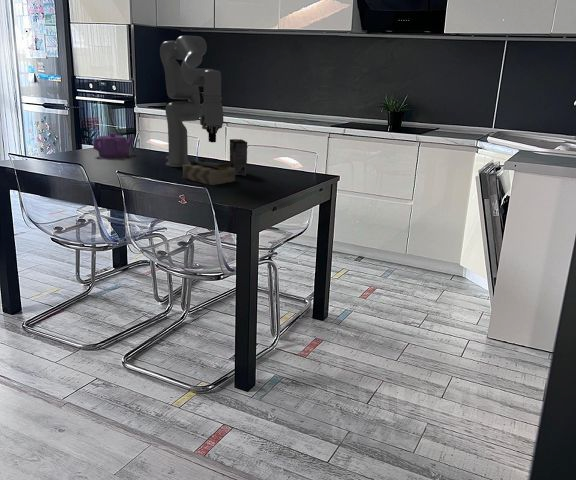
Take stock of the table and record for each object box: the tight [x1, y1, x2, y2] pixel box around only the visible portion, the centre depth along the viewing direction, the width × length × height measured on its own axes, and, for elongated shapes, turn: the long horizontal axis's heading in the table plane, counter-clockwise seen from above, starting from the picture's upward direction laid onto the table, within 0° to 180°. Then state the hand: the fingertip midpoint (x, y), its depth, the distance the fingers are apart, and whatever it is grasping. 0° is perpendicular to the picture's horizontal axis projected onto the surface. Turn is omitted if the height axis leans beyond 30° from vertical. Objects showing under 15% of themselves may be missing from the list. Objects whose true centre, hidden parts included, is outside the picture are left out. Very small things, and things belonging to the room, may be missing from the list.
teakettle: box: [93, 132, 134, 159], centre depth 304 cm, size 17×17×12 cm
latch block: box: [182, 159, 236, 186], centre depth 253 cm, size 20×14×8 cm
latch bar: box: [195, 161, 220, 167], centre depth 253 cm, size 16×4×1 cm, turn 48°
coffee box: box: [229, 138, 248, 176], centre depth 268 cm, size 9×6×16 cm
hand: (212, 141), depth 248 cm, fingers closed
